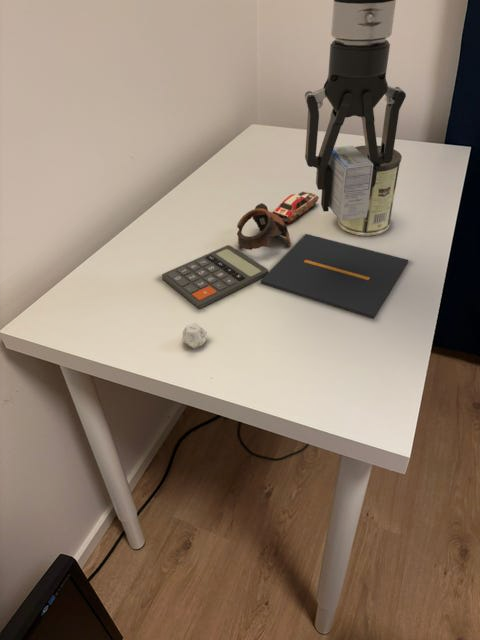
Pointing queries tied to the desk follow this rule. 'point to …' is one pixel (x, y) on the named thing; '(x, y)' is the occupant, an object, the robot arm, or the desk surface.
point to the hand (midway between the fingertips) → (342, 206)
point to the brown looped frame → (262, 228)
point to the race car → (295, 206)
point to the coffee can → (377, 199)
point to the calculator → (214, 275)
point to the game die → (194, 335)
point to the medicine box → (349, 183)
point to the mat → (337, 274)
